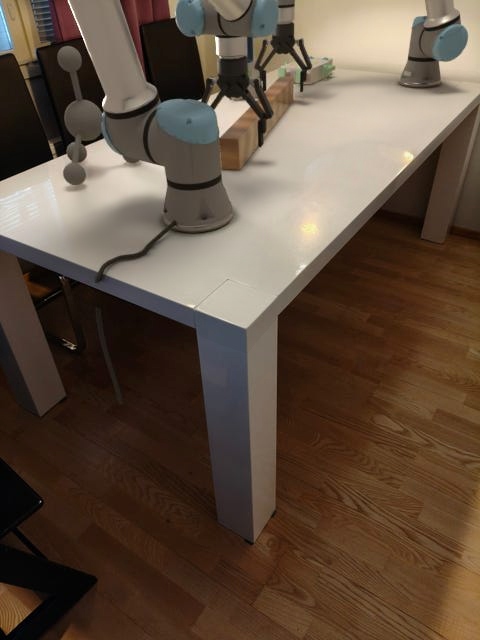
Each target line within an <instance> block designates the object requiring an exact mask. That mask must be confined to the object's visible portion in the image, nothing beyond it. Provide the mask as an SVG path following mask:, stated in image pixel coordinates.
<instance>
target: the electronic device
mask: <svg viewBox="0 0 480 640" xmlns="http://www.w3.org/2000/svg"><path fill="white" fill-rule="evenodd" d="M246 56H247V58H248V77H249V79H255V78H257V77H260V73H259V70H257V69H254V66H255V64H256V61H257V59H256V46H255V38H253V37H247V54H246ZM261 84H262V81H261ZM247 89H248V90H249V91H250V93H251V95H252V96H253V98H254V99H255V98H256V99H258V96H257V94H256V92H255V88H253V87H252V85H251V84H250V85H249V86H248V88H247ZM231 98H232V100H234V101H240V100H244V99H243V98H242V97H239V98H235V97H231Z"/></svg>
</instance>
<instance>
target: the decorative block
mask: <svg viewBox="0 0 480 640" xmlns="http://www.w3.org/2000/svg"><path fill="white" fill-rule="evenodd" d="M309 59H310V61H311V64H312V68H311V69H310V70H307V79H306V81H305V82H304V85H312V84H315V83H317V82H319V81H321V80H324V79H326V78H328V77H330V75H332V74H333V71H336V65H333V61H334V59H333V58H328V57H313V56H312V55H311V56H309ZM301 60H302V61H303V63H304V64H305V65H306V63H305V60H304V58H303V59H302V58H301ZM306 66H307V65H306ZM277 70H278V71H277V73H278V74H277V76H278V77H277V79H278V78H279V77H294V83H296V84H300V72H301V71H302V69H301V68H300V66H299V65H298V64H297V62H296V61H295V60H294V61H292V62H289V61H285V62H284V63H283V65H280V67H279V68H278V69H277Z"/></svg>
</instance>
